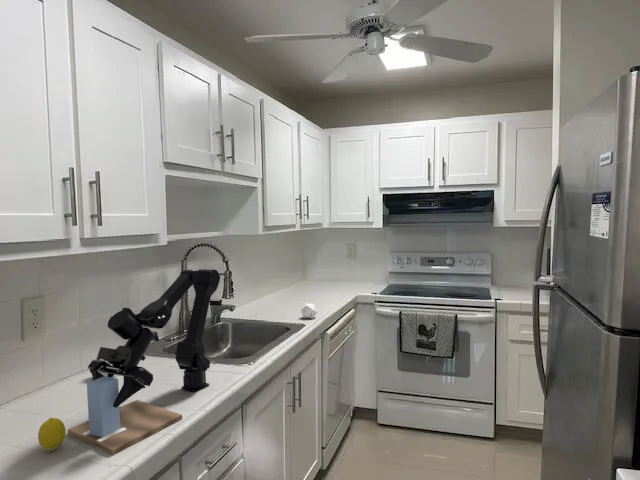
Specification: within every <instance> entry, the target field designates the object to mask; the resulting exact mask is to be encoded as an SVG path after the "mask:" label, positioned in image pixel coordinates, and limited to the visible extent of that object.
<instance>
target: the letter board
mask: <svg viewBox="0 0 640 480" xmlns="http://www.w3.org/2000/svg"><path fill="white" fill-rule="evenodd" d="M119 409H120V429H118V430H117V431H115V432H113V433H111V434H109V435H107V436H106V437H104V438H102V437H98V436H95V435H91V434H89V420H86V421H84V422H82V423H79V424H77V425H74V426H72V427H69V428H68V429H67V434H68V435H69V436H72V437H74V438H76V439H78V440H80V441H82V442H84V443H86V444H89V445H91V446H93V447H95V448H97V449H99V450H101V451H103V452H106V453H108V454H109V455H112V456H114V455H116V454H118V453H120V452H122V451H124V450H126V449H128V448H130V447H131V446H134V445H135V444H138V443H139V442H141V441H143V440H145V439H147V438H149V437H151V436H152V435H154V434H156V433H158V432H160V431H162V430H164V429H166V428H168V427H170V426H171V425H174V424H176V423H178V422H180V421H181V420H183V414H181V413H178V412H175V411H172V410H169V409H166V408H162V407H160V406H157V405H155V404H152V403H151V404H150V403H147V402H145V401H143V400H140V399H139V400H138V399H136V400H134V401H132V402H129V403H127V404H124V405H122V406H119Z"/></svg>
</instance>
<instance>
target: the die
mask: <svg viewBox="0 0 640 480" xmlns="http://www.w3.org/2000/svg"><path fill="white" fill-rule="evenodd" d="M300 312H301V314H302V317H303V319H306V318H311V319H310V320H314V318H315V316H316V315H317V313H318V310H317V308H316V305H315V303H305V304H304V305H303V306H302V307H301V309H300Z"/></svg>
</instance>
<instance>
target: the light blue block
mask: <svg viewBox="0 0 640 480" xmlns="http://www.w3.org/2000/svg"><path fill="white" fill-rule="evenodd" d="M119 392H120V390H119V378H116V377H106V376H104V377H101V378H99V379H96V380H94V381H92V380H91V381H88V382H86V394H87V410H88V411H87V412H88V421H89V434H91V435H95V436H98V437H102V438H104V437H106V436H107V435H109V434H111V433H113V432H115V431H117V430H118V429H120V409H119V407H120V405H119V406H118V407H117V408H115V407H113V404H114V401H115V399H116V397H117V395H118V394H119Z"/></svg>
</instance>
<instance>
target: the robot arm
mask: <svg viewBox="0 0 640 480" xmlns="http://www.w3.org/2000/svg"><path fill="white" fill-rule="evenodd" d="M220 282H221V274H219V272H218V270H217V269H214V268H213V269H212V268H211V269H207V268H206V269H205V268H204V269H203V268H200V269H198V270H195V269H182V271H181V272H180V273H179V276H178V277H177V278H176V279H175V280H174V281H173V283H171V284H170V286H169V287H168V288H167V289H166V291H165V292H164V293H163V294H162V295H161V296H160V297H159V298H158V299H156V300H154V301H153V302H150V303H149V304H148V305H146V306H145V307H143V308H142V309H141V310H140V312H139V313H136V314H135V312H133V310H132V309H130V307H123V308H122V309H121V310H119V311H117V312H116V313H114V315H112V316H111V317H110V318H109V319H108V322H107V328H108V329H109V330H111V331H112V332H113V333H114V334H116V335H117V336H118V337H120V338H121V339H122V340H124V341H125V340H126V342H125V344H124V345H118V346H117V347H115V348H110V347H103V346H100V348H99V349H98V350H99V351H98V352H97V353H98V354H97V356H96V359H92V360H91V361H90V363H89V364H88V366H87V369H88V370H89V373H91V377H92V380H91V381H94V380H96V379H99V378H101V377H104V376H106V377H111V378H114V377H113V376H114V375H119V376H121V377H123V383H122V386H121V388H120V390H119V394H118V395H117V397H116V399H115V401H114V404H113V407H115V408H117V407H118V406H119V407H120V406H121V405H122V404H123V403H124V402H126V401H127V400H128V399H129V398H130V397H132V396H133V395H135V394H136V393H138V392H139V391H141V390H142V389H145V388H146V386H147V387H150V386H151V385H152V383H153V381H154V375H153V374H152V373H151V372H150V371H149V370H147V369H146V368H144V367H143V366H139V364H140V362H141V361H142V362H143V361H145V359H147V358H146V356H145V353H146V352H147V350H148V348H149V346H150V345H151V343H152V342H156V343H157V342H160V338H159V337H160V336H159V335H158V331H152V330H151V329H158V330H161V329H163V328H164V327H166V326H167V324H168V322H169V320H171V317H172V314H173V309H174V308H175V306H176V305H177V304H178V303H179V301H180V300H181V299H182V298H183V297H184V295H186V293H187V292H188V291H189V289H190V288H191V287H193V289H194V292H195V295H194V296H195V297H194V301H193V304H192V310H191V313H190V318H189V323H188V328H187V331H186V332H187V333H186V336H185V337H184V339H183V340H182V341H178V342H177V346H176V350H175V353H174V355H175V361H176V363H177V365H178V367H179V370H183V380H182V381H183V385H182V386H181V387H180V388H181V390H185V391H189V392H192V393H195V392H198V391H200V390H203V389H204V388H207V387H209V386H210V383H208V382H207V377H206V376H207V375H206V374H207V373H206V372H207V370H208V369H210V366H211V360H209V358H207V356H205V346H204V342H203V336H204V335H203V334H204V330H205V325H206V321H207V317H208V310H209V305H210V300H211V297H212V296H213V294H215V292H216V291H217V290H218V287H219V284H220ZM102 359H103V360H104V361H103V360H102ZM106 361H108V363H107V362H106ZM110 364H112V365H113V366H111V365H110ZM117 371H119V372H117Z"/></svg>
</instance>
